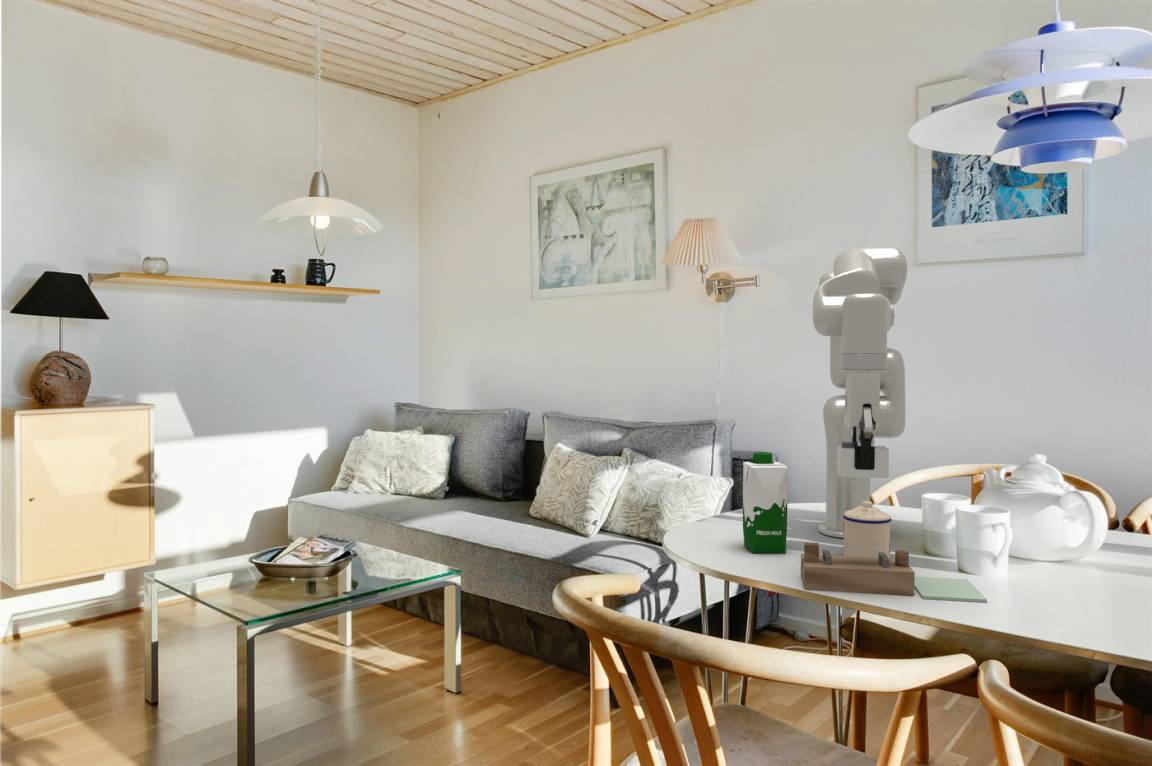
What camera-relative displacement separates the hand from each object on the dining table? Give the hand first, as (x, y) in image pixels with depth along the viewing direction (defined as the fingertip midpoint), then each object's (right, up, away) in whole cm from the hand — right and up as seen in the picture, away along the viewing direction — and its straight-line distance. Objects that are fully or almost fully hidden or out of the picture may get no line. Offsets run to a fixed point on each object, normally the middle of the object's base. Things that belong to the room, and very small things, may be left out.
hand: (862, 466), depth 140 cm
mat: (+14, -21, -2) cm, 25 cm away
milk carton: (-11, -21, +26) cm, 35 cm away
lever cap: (0, -2, 0) cm, 2 cm away
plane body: (-1, -21, +1) cm, 21 cm away
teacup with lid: (+7, -21, +20) cm, 30 cm away
